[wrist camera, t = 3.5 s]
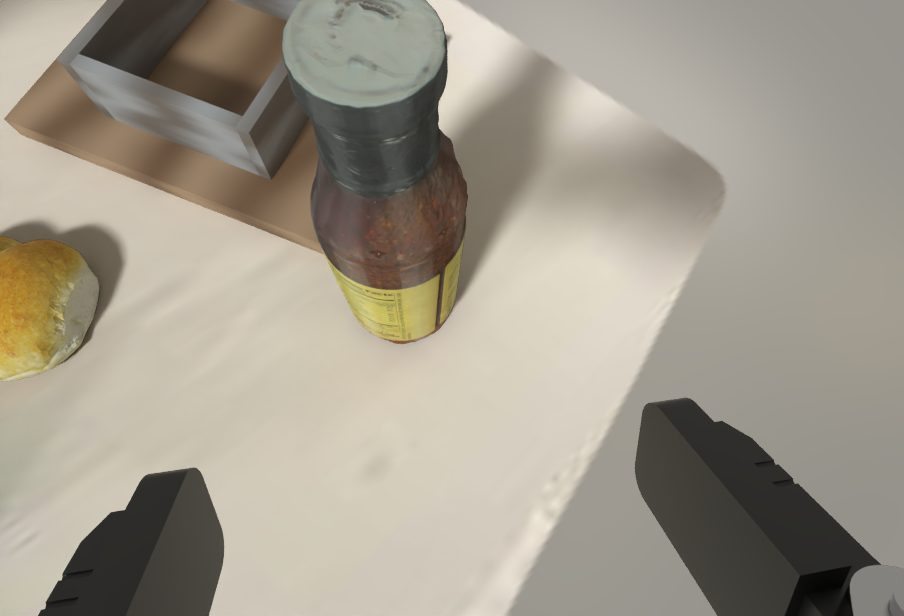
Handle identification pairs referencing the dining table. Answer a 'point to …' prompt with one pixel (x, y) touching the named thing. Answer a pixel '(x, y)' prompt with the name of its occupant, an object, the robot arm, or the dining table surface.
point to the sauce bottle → (381, 158)
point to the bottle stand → (186, 107)
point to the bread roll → (42, 305)
